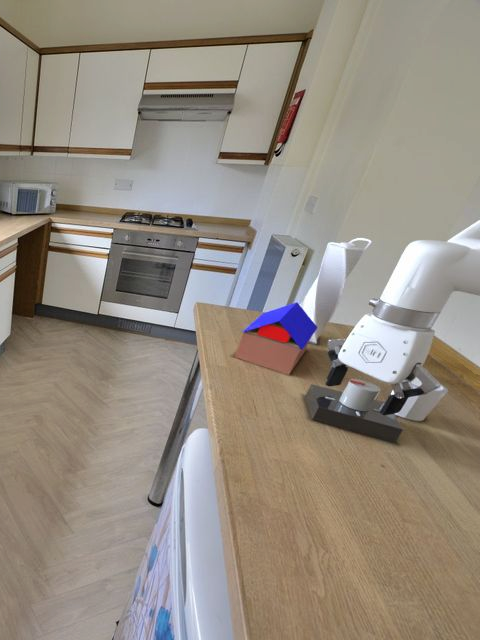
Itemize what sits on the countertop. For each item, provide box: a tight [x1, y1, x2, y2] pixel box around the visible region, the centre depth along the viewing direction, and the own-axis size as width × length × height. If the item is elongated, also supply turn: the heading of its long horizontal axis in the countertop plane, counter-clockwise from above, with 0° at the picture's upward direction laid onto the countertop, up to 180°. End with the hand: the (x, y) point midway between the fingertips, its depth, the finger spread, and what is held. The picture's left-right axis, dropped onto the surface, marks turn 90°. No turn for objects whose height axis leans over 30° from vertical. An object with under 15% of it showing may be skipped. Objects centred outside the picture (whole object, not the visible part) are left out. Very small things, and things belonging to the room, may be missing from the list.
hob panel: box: [305, 383, 404, 444], centre depth 79 cm, size 12×10×3 cm
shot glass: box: [390, 377, 449, 422], centre depth 80 cm, size 7×7×7 cm
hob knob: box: [339, 378, 381, 411], centre depth 77 cm, size 4×4×5 cm
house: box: [234, 301, 318, 376], centre depth 101 cm, size 12×20×12 cm, turn 134°
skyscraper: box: [299, 237, 373, 345], centre depth 108 cm, size 8×8×28 cm
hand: (358, 398), depth 77 cm, fingers open, 9 cm apart
